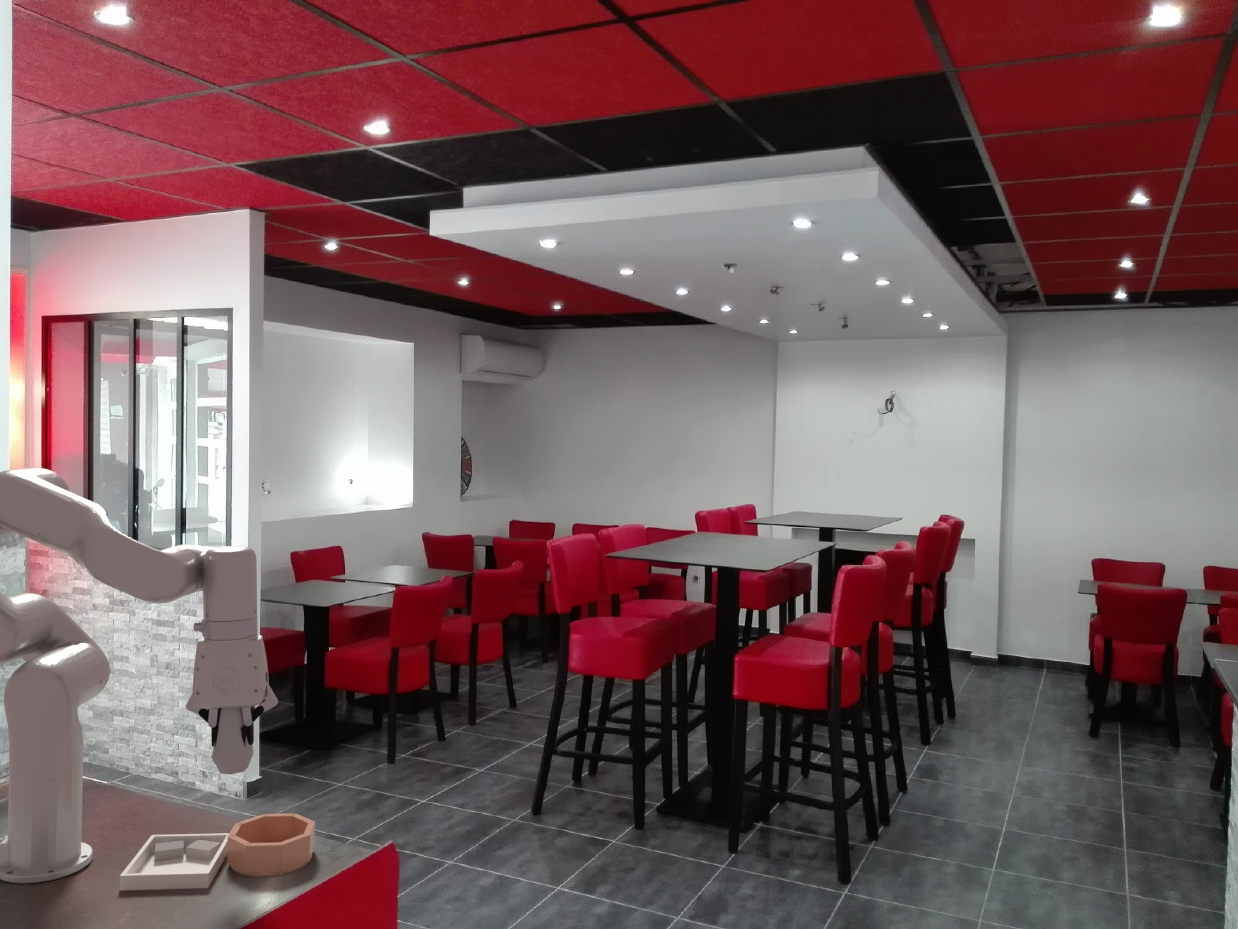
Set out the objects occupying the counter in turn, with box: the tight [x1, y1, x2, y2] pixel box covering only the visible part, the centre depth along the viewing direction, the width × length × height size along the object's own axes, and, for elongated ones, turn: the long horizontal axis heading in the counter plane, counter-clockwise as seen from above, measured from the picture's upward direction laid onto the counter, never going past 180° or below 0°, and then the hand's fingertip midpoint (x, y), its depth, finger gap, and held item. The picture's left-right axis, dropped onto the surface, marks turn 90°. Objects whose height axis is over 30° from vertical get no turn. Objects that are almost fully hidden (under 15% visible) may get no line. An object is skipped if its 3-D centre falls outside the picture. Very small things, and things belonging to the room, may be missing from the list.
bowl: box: [226, 812, 316, 878], centre depth 150 cm, size 12×12×5 cm
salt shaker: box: [211, 707, 254, 775], centre depth 147 cm, size 6×6×13 cm
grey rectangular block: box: [155, 840, 184, 862], centre depth 150 cm, size 4×3×2 cm
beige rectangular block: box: [186, 840, 221, 861], centre depth 151 cm, size 4×3×2 cm
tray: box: [119, 832, 230, 892], centre depth 146 cm, size 12×14×2 cm
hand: (233, 749), depth 147 cm, fingers closed on salt shaker, 3 cm apart
